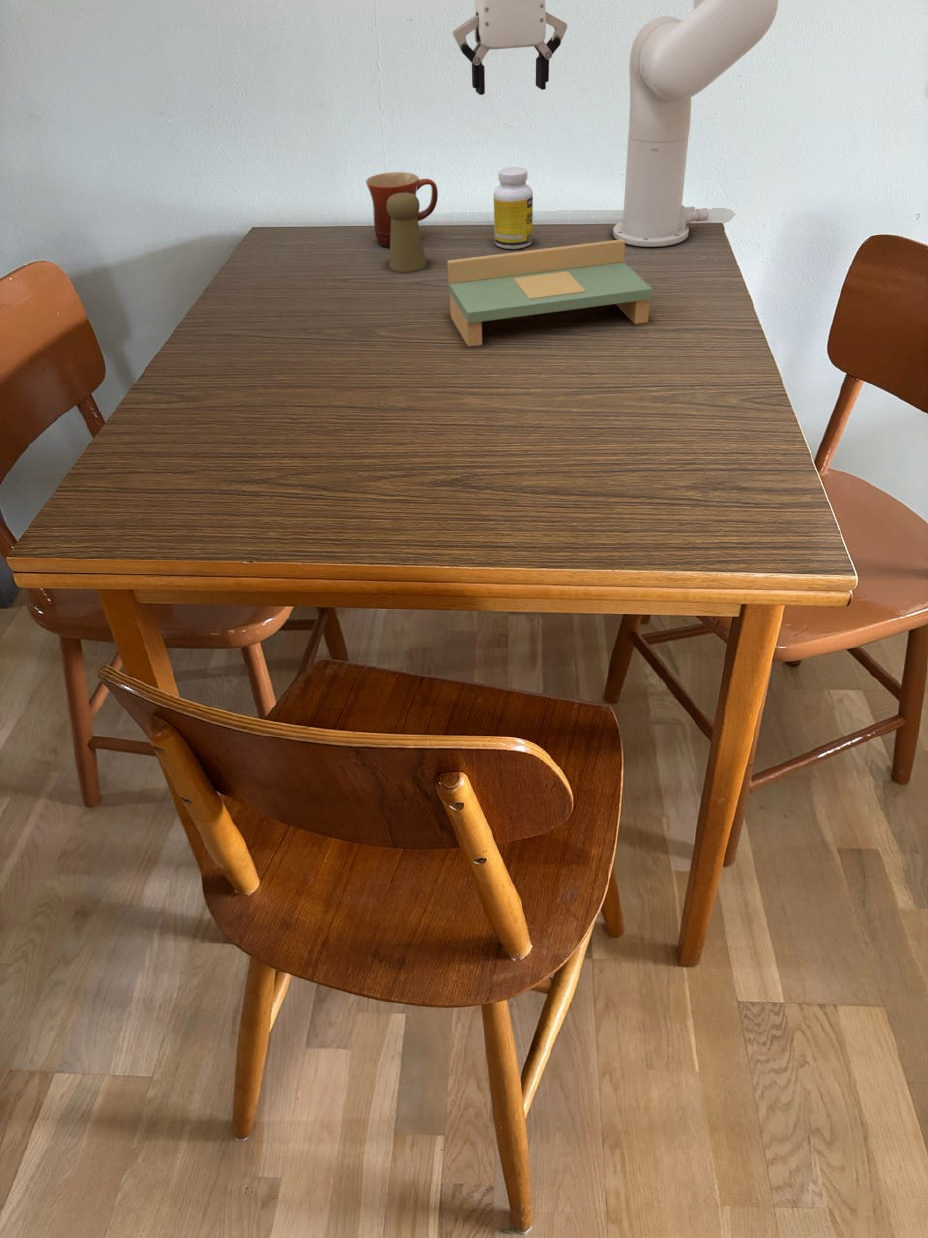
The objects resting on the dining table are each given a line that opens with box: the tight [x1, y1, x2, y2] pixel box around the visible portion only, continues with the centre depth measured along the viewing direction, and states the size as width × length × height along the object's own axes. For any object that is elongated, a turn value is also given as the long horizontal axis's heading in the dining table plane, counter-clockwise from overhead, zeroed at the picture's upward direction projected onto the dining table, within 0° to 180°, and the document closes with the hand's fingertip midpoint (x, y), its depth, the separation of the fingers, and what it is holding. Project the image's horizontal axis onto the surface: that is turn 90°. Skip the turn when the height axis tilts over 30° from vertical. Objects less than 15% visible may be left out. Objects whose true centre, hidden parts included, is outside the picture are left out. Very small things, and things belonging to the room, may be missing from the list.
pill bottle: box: [493, 166, 534, 250], centre depth 158 cm, size 6×6×12 cm
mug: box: [365, 171, 439, 249], centre depth 162 cm, size 12×9×10 cm
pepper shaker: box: [386, 193, 427, 273], centre depth 153 cm, size 6×6×11 cm
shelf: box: [446, 239, 653, 348], centre depth 134 cm, size 26×12×8 cm, turn 103°
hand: (510, 90), depth 147 cm, fingers open, 9 cm apart
